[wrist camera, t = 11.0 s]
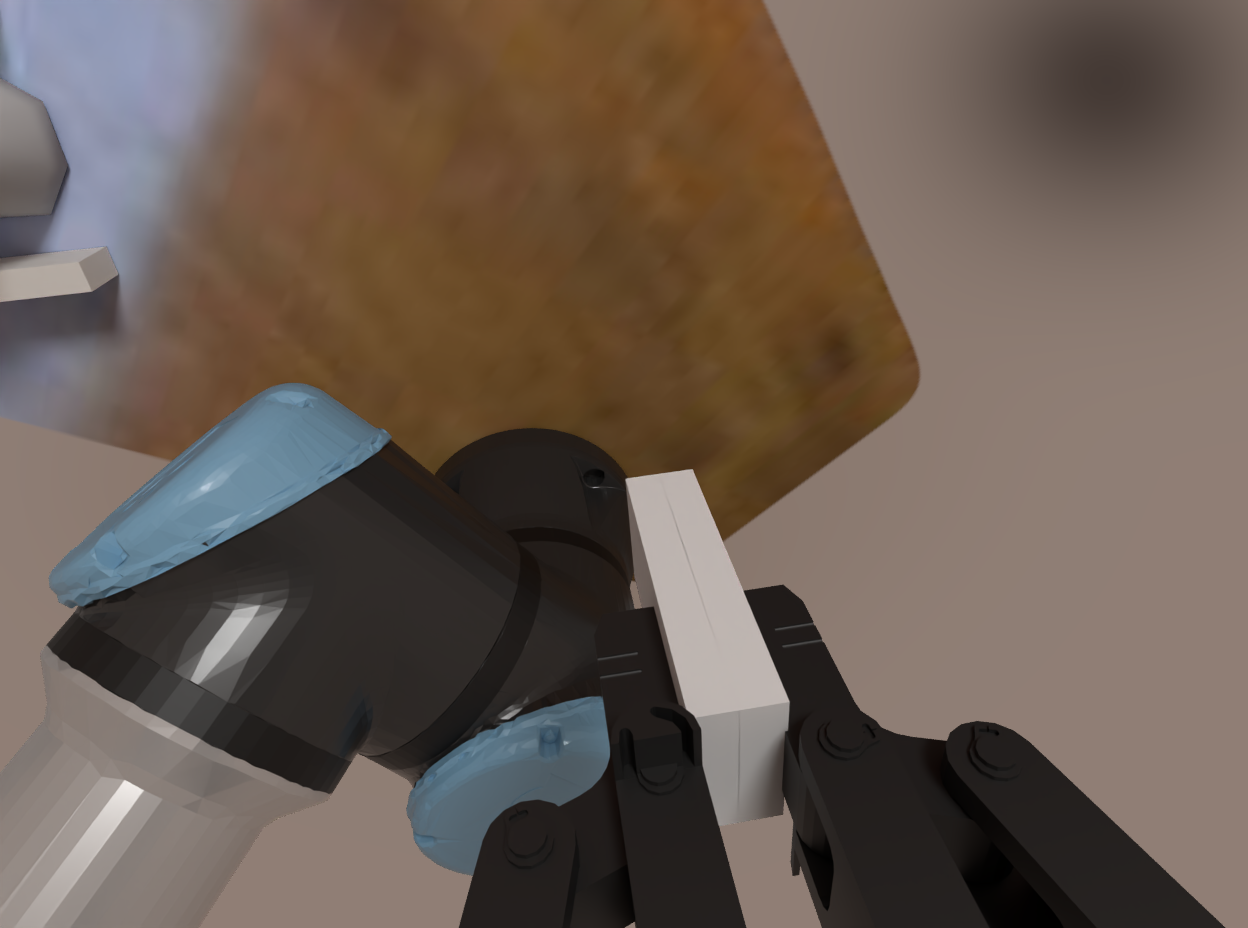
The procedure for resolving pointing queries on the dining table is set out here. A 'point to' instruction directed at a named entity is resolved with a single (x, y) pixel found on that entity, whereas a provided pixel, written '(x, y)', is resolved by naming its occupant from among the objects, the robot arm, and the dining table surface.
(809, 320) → the dining table surface
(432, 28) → the dining table surface
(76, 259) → the white u-shaped stand
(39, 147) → the flask
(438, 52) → the dining table surface
